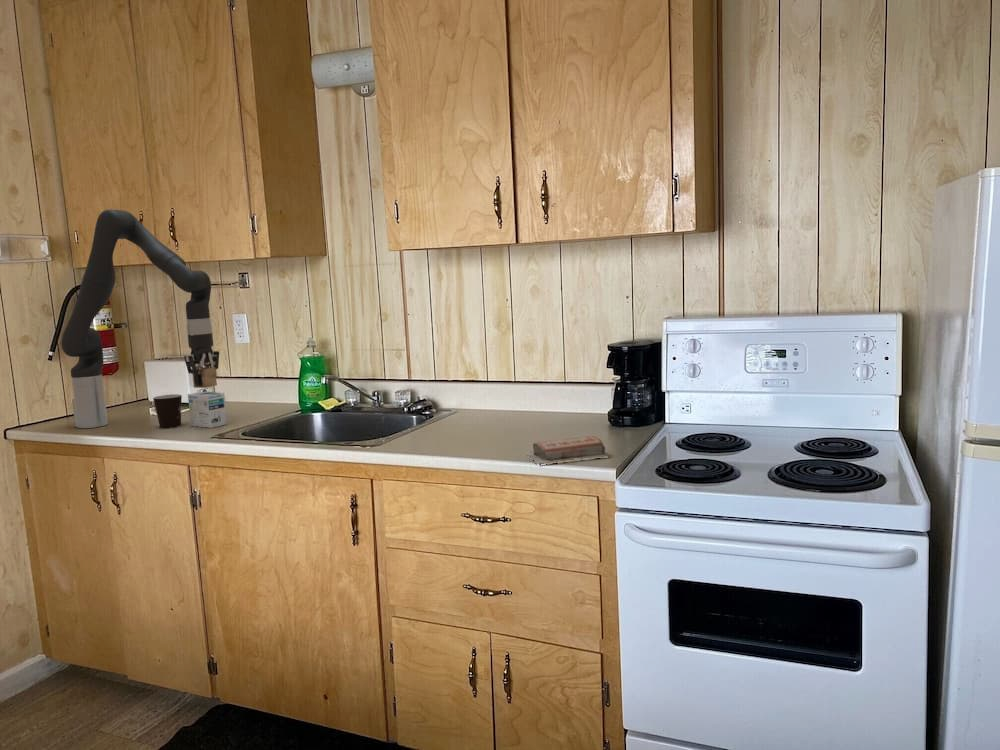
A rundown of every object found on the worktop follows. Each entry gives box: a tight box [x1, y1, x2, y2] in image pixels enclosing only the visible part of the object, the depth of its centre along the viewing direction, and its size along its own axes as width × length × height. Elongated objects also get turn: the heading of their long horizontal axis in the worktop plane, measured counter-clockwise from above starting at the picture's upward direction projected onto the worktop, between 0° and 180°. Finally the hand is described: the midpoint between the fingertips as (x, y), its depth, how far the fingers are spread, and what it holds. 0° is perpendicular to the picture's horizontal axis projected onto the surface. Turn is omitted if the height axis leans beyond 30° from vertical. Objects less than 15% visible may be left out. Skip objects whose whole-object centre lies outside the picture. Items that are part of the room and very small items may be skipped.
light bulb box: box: [187, 391, 228, 429], centre depth 251 cm, size 11×7×11 cm, turn 58°
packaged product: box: [525, 435, 610, 465], centre depth 187 cm, size 18×5×10 cm
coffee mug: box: [152, 393, 183, 429], centre depth 253 cm, size 12×9×10 cm
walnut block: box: [192, 366, 218, 389], centre depth 249 cm, size 5×5×6 cm
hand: (205, 384), depth 250 cm, fingers closed on walnut block, 5 cm apart
